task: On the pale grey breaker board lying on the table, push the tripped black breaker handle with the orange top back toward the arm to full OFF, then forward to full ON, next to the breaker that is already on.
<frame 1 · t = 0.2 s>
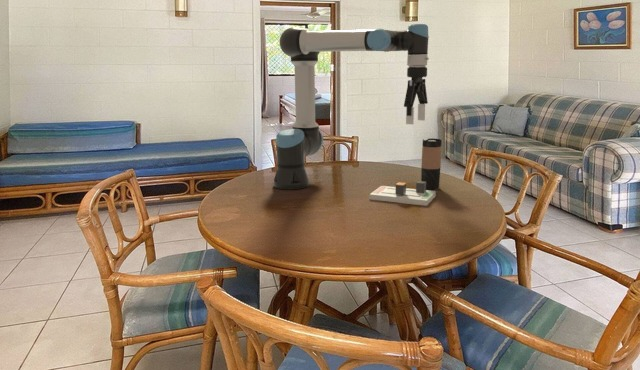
hand: (415, 122, 191), 28 cm above the table, tool pointing down, fingers open, 13 cm apart
travel mug: (430, 188, 201), on the table
breaker board: (402, 197, 187), on the table
breaker handle: (400, 188, 184), point 4 cm above the table, slide at 6.0 cm
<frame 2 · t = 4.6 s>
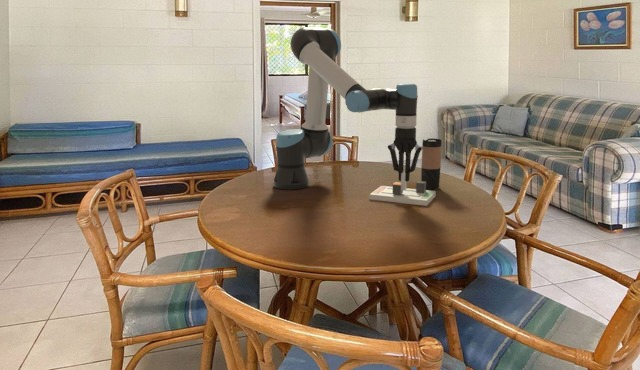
hand: (403, 189, 183), 4 cm above the table, tool pointing down, fingers closed
breaker handle: (397, 188, 184), point 4 cm above the table, slide at 4.9 cm, touching gripper
everything else where it was.
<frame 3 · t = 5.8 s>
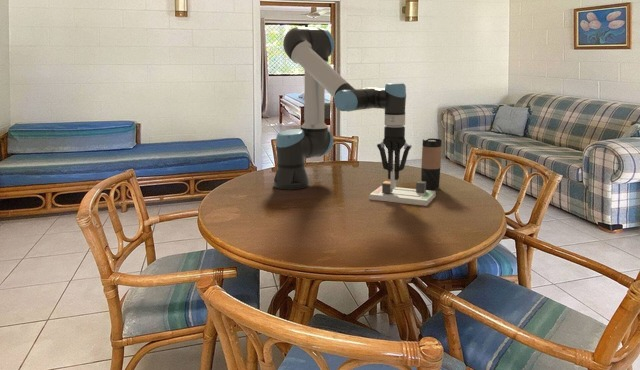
hand: (393, 187, 185), 4 cm above the table, tool pointing down, fingers closed
breaker handle: (387, 187, 186), point 4 cm above the table, slide at 0.8 cm, touching gripper
everything else where it was.
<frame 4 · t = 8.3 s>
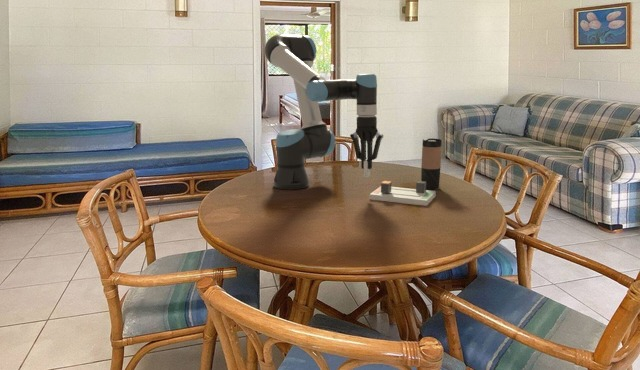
hand: (366, 177, 189), 8 cm above the table, tool pointing down, fingers closed
breaker handle: (386, 187, 186), point 4 cm above the table, slide at 0.3 cm
everything else where it was.
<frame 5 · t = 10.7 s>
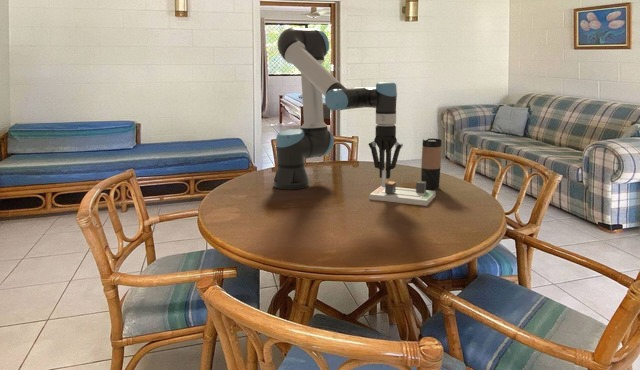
hand: (384, 186, 186), 5 cm above the table, tool pointing down, fingers closed
breaker handle: (390, 187, 185), point 4 cm above the table, slide at 2.0 cm, touching gripper
everything else where it was.
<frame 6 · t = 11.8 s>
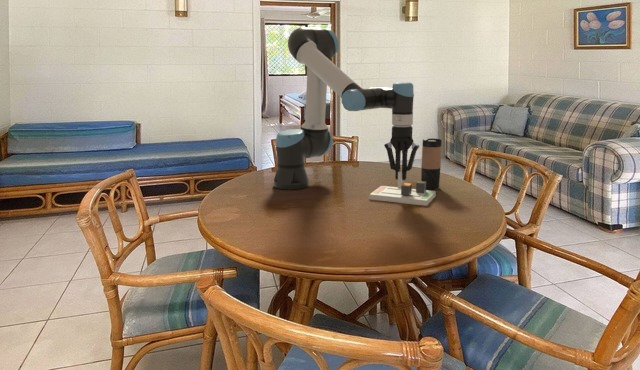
hand: (400, 188, 184), 5 cm above the table, tool pointing down, fingers closed
breaker handle: (406, 189, 183), point 4 cm above the table, slide at 8.2 cm, touching gripper
everything else where it was.
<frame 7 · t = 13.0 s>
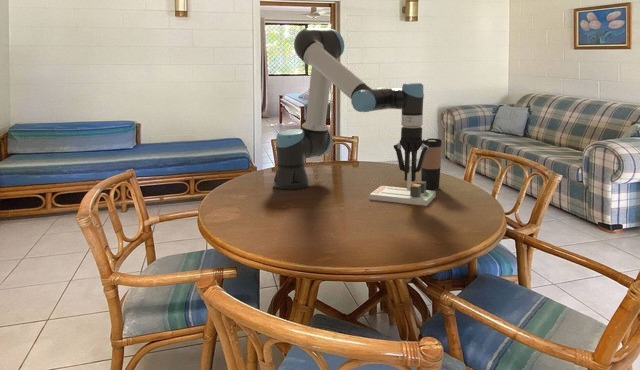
hand: (409, 189, 182), 4 cm above the table, tool pointing down, fingers closed
breaker handle: (415, 190, 181), point 4 cm above the table, slide at 11.7 cm, touching gripper
everything else where it was.
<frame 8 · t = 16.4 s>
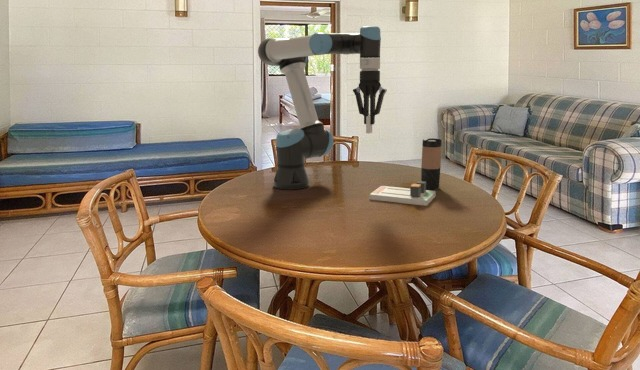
hand: (369, 132, 187), 24 cm above the table, tool pointing down, fingers closed
breaker handle: (415, 190, 181), point 4 cm above the table, slide at 11.7 cm
everything else where it was.
at the end: breaker handle slide at 11.7 cm; travel mug moved 0.2 cm from its start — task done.
